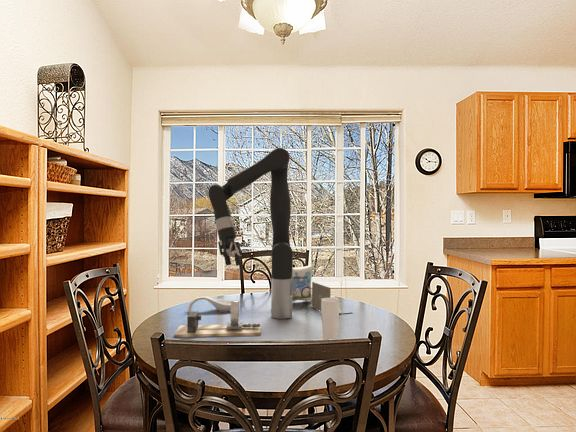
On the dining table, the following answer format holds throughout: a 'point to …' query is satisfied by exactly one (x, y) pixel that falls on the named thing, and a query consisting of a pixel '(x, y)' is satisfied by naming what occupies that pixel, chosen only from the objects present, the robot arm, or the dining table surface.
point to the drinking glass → (330, 317)
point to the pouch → (302, 283)
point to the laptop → (319, 295)
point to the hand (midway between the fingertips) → (234, 265)
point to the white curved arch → (213, 303)
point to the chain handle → (237, 318)
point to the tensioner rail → (211, 329)
